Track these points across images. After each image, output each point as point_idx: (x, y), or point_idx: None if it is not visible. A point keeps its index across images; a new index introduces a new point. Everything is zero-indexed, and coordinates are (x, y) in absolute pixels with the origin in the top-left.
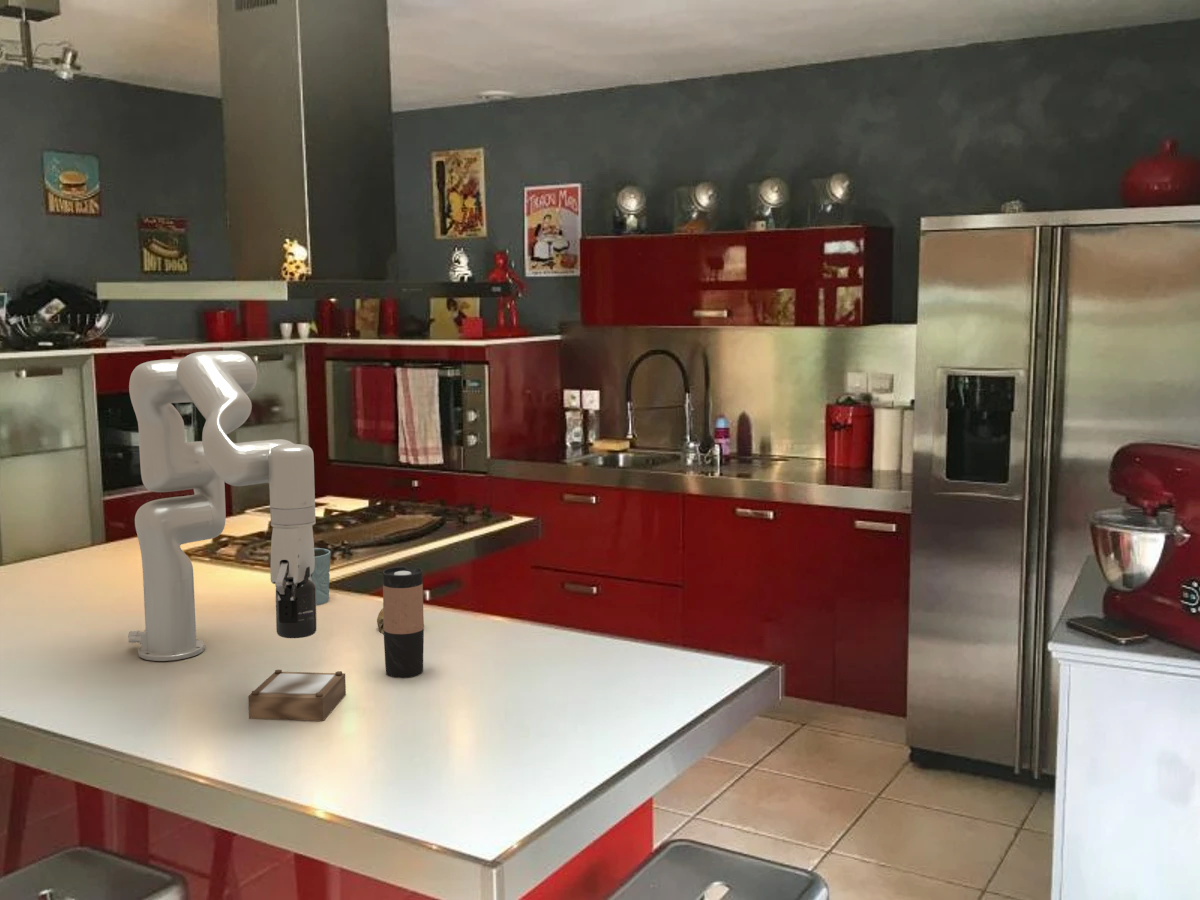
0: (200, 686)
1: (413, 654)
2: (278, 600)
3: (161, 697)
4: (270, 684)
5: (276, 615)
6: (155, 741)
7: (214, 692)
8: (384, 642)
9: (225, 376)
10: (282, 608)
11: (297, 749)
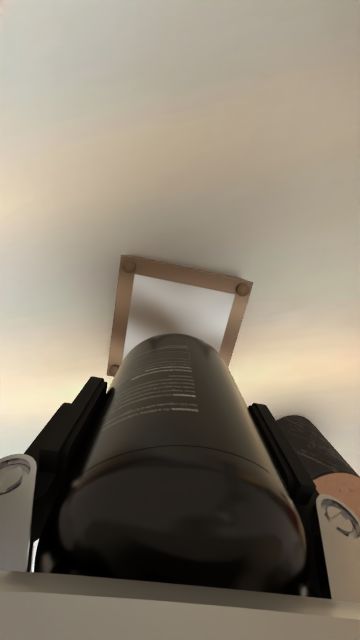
0: (304, 130)
1: None
2: (9, 456)
3: (257, 53)
4: (174, 286)
5: (148, 362)
6: (28, 108)
7: (264, 167)
8: (315, 454)
9: None
10: (39, 435)
11: (16, 339)
